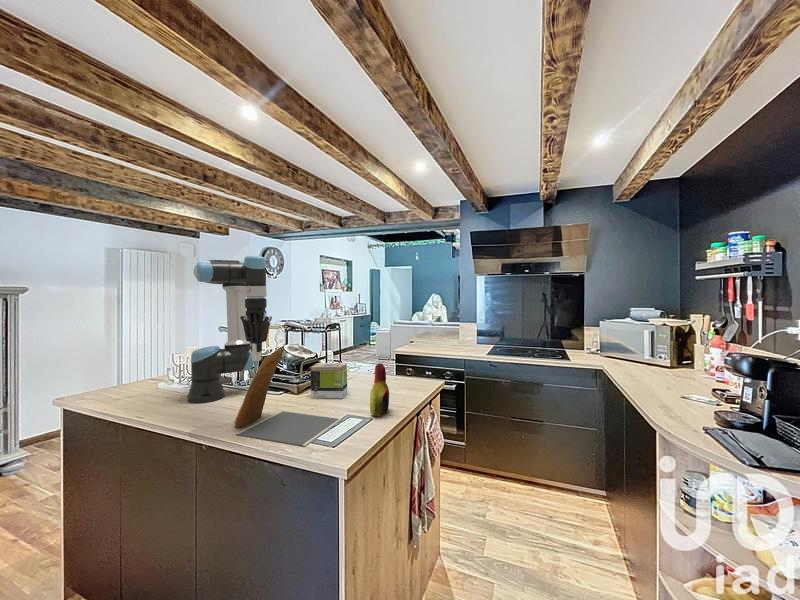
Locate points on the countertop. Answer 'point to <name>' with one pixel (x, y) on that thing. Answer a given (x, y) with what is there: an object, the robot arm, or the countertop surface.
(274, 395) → the countertop surface
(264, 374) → the pancake mix bag
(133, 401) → the countertop surface
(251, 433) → the mat
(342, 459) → the countertop surface
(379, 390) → the bottle
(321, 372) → the tea box
